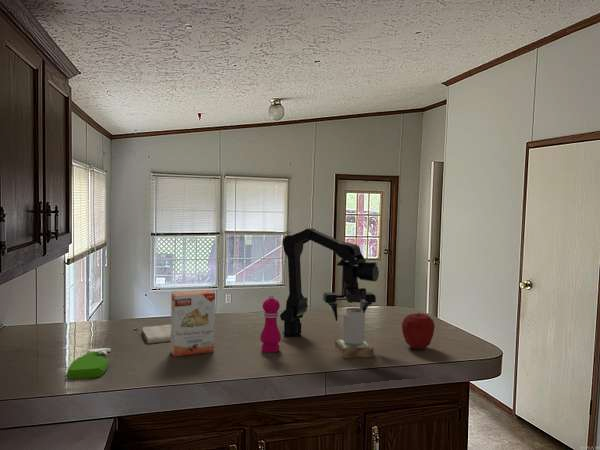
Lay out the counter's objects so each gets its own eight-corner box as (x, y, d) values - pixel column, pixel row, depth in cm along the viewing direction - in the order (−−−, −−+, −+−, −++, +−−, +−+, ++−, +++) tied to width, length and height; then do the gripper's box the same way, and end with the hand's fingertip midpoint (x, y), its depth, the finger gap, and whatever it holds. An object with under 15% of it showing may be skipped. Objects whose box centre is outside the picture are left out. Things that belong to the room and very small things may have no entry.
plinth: (342, 357, 159) (342, 348, 159) (334, 347, 170) (335, 338, 170) (373, 357, 161) (373, 347, 160) (364, 347, 171) (364, 338, 171)
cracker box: (174, 357, 156) (174, 295, 155) (170, 352, 161) (170, 292, 160) (214, 352, 162) (215, 292, 161) (209, 347, 168) (210, 289, 167)
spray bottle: (64, 381, 135) (81, 355, 159) (104, 378, 138) (115, 353, 162) (64, 371, 135) (81, 346, 159) (104, 368, 138) (115, 344, 162)
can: (363, 347, 161) (364, 312, 160) (341, 345, 162) (342, 311, 162) (365, 340, 168) (365, 307, 167) (344, 339, 170) (345, 306, 169)
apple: (412, 341, 180) (413, 306, 180) (440, 348, 172) (441, 312, 171) (394, 347, 172) (395, 311, 171) (423, 355, 164) (424, 317, 163)
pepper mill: (283, 348, 168) (284, 293, 167) (276, 354, 161) (277, 296, 160) (265, 346, 170) (266, 291, 170) (256, 351, 164) (257, 295, 163)
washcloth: (170, 329, 191) (170, 322, 191) (180, 341, 175) (180, 333, 175) (140, 332, 186) (140, 325, 186) (147, 345, 170) (147, 337, 170)
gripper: (329, 282, 162) (328, 326, 163) (381, 282, 165) (379, 326, 166) (323, 277, 173) (322, 318, 174) (371, 277, 176) (370, 318, 177)
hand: (348, 320), depth 172 cm, fingers open, 9 cm apart
